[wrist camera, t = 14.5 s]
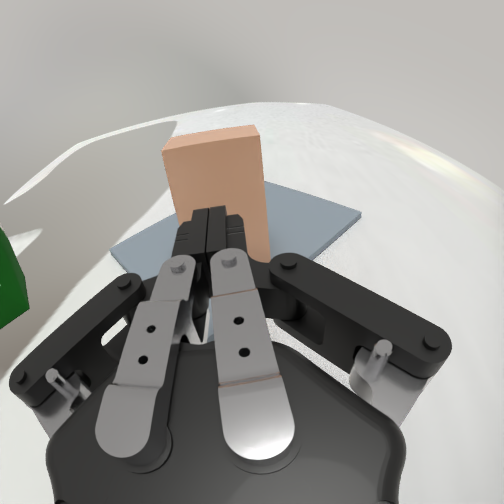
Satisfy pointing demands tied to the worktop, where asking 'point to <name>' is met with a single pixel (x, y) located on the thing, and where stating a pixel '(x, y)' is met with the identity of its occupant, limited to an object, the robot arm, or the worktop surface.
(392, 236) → the worktop surface
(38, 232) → the worktop surface
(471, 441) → the worktop surface
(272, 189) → the mat
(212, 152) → the terracotta block
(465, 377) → the worktop surface
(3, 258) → the milk carton
